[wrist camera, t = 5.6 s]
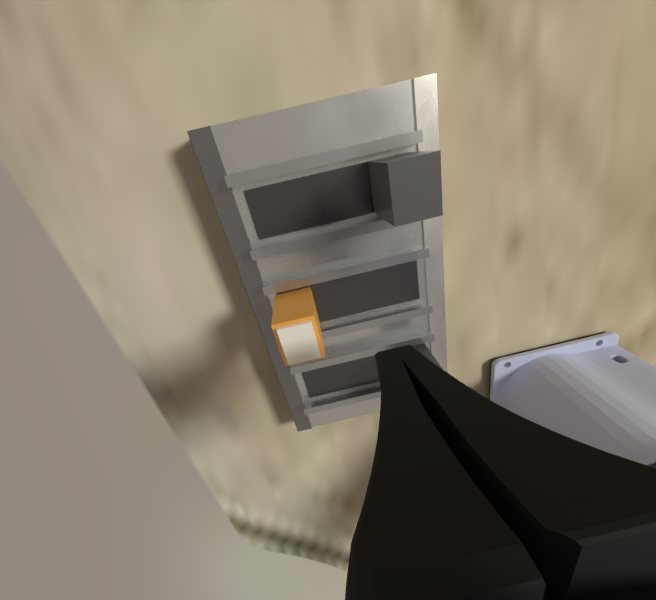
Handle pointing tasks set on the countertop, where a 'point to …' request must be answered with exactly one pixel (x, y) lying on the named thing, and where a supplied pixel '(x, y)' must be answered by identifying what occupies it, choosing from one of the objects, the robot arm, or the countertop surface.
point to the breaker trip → (297, 327)
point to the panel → (331, 236)
